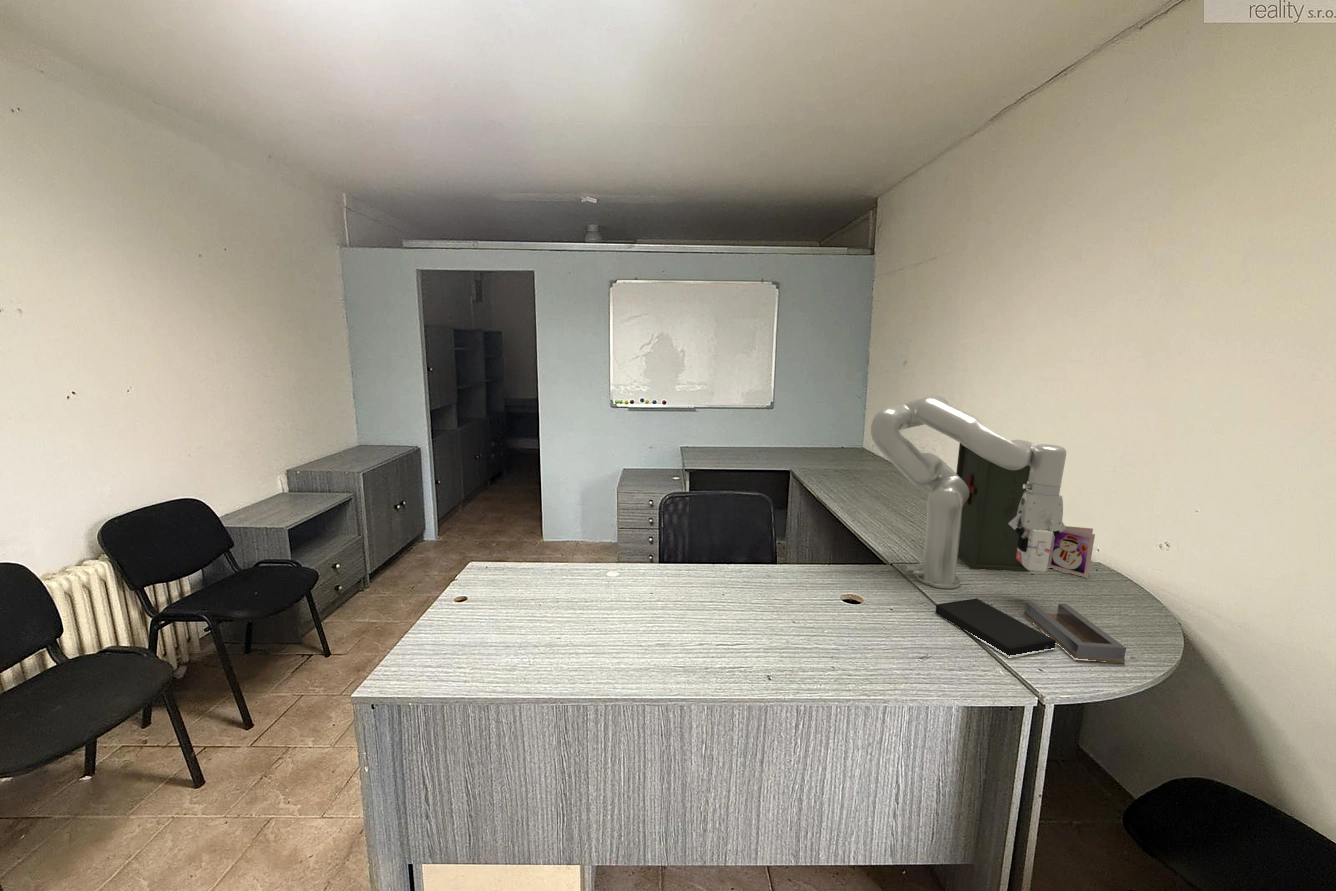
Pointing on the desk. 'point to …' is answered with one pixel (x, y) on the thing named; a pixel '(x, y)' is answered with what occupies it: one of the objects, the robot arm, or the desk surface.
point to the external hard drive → (994, 626)
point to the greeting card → (1072, 550)
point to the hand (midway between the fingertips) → (1032, 550)
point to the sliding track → (1076, 634)
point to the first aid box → (989, 513)
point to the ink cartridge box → (1036, 549)
